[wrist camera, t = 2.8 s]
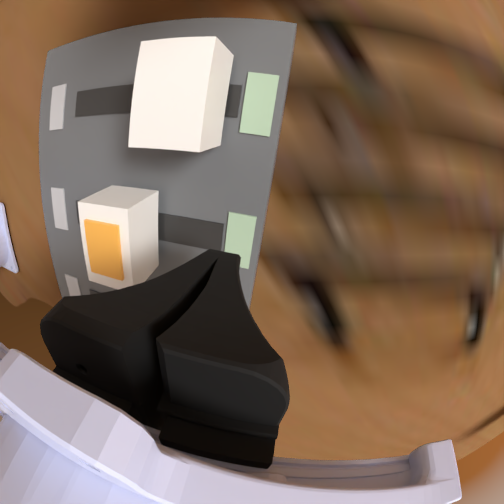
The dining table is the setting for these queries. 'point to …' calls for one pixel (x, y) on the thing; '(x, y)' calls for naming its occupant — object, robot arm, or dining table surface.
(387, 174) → the dining table surface
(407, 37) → the dining table surface
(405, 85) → the dining table surface
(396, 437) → the dining table surface
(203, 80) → the block
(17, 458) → the robot arm
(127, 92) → the switch panel
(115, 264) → the block
